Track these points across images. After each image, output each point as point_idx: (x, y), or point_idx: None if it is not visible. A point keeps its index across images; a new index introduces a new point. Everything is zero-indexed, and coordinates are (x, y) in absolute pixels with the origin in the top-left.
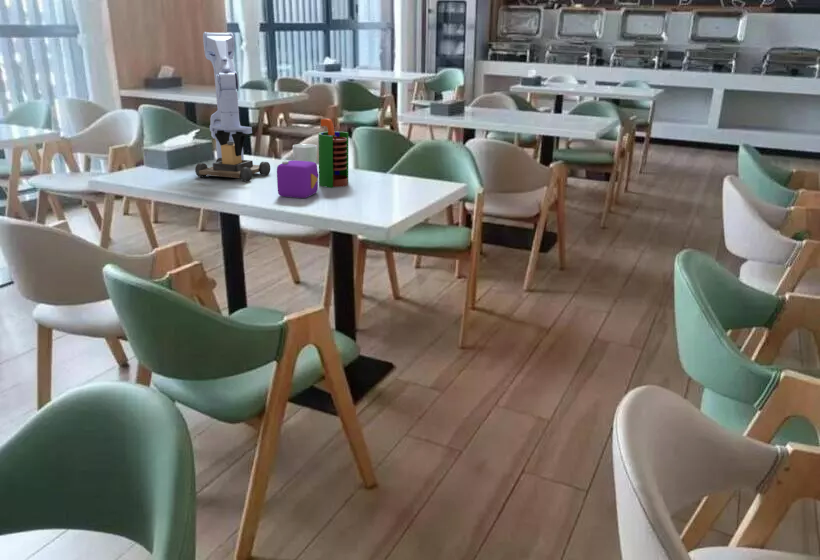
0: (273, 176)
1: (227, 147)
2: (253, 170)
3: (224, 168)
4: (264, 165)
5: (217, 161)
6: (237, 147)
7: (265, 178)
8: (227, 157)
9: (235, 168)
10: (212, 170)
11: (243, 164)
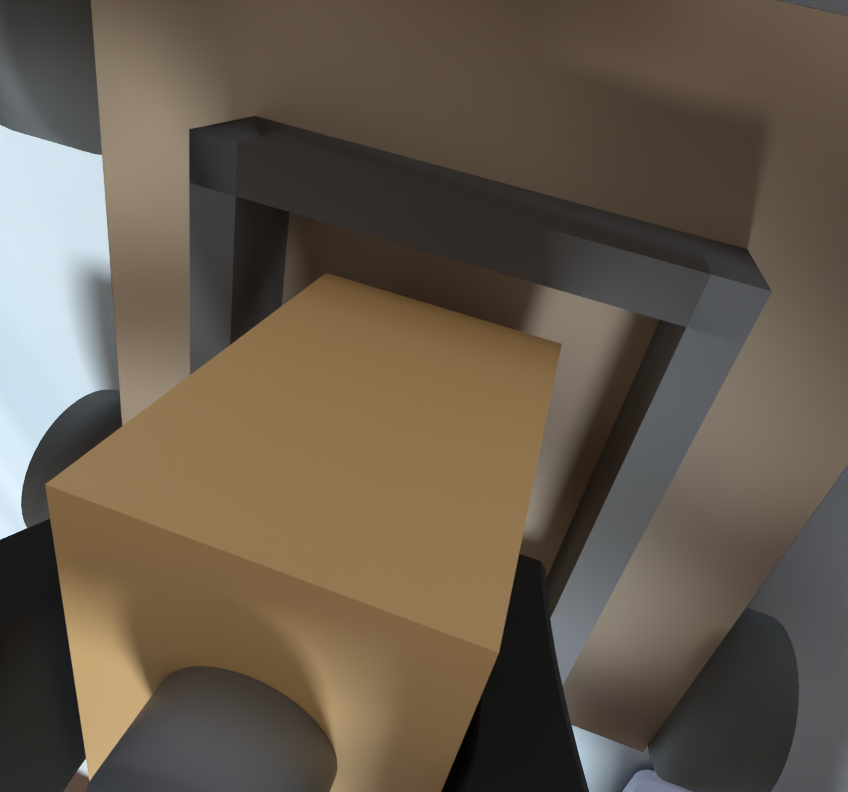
0: (60, 382)
1: (237, 508)
2: (119, 307)
3: (484, 188)
4: (44, 453)
5: (773, 705)
6: (10, 535)
7: (65, 271)
8: (385, 363)
9: (238, 126)
10: (748, 152)
11: (200, 357)
